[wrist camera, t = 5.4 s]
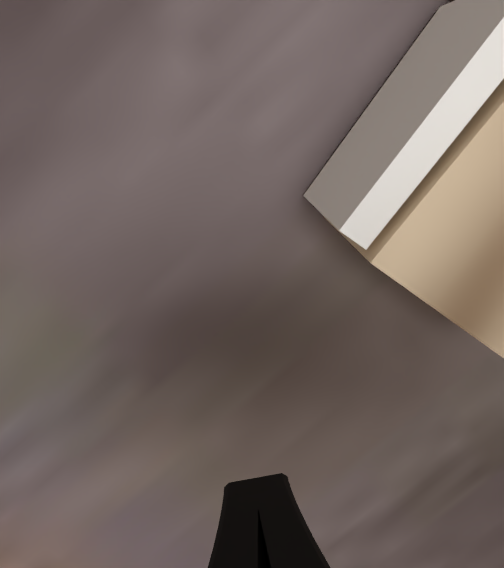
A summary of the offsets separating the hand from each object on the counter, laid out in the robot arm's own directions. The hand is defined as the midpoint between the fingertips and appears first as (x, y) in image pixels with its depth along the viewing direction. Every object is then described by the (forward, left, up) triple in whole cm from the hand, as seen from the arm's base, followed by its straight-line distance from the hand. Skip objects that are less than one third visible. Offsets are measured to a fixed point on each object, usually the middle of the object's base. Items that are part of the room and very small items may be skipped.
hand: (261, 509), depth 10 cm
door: (+1, -10, -9) cm, 13 cm away
